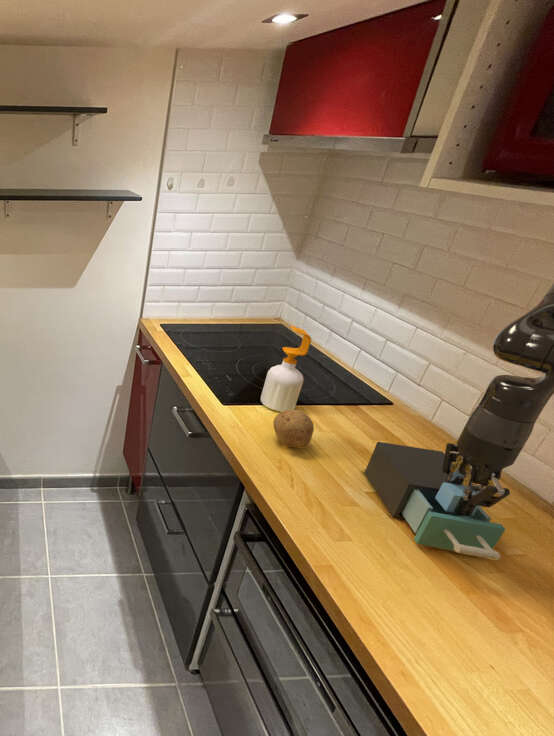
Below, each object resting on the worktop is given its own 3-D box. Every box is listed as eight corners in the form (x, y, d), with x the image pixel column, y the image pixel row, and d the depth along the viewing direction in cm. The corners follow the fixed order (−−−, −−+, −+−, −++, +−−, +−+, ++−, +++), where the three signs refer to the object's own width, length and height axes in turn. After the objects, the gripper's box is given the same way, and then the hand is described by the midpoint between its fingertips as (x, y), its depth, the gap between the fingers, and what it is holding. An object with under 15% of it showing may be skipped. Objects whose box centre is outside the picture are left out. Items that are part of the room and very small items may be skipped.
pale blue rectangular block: (461, 502, 87) (470, 486, 85) (473, 516, 83) (482, 500, 82) (434, 497, 88) (443, 482, 86) (445, 511, 84) (454, 495, 83)
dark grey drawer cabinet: (464, 530, 90) (484, 496, 86) (392, 517, 93) (409, 483, 89) (426, 483, 103) (442, 451, 99) (364, 472, 105) (377, 441, 102)
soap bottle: (256, 394, 137) (276, 320, 127) (288, 398, 135) (311, 323, 125) (264, 410, 129) (287, 333, 119) (298, 414, 127) (324, 336, 117)
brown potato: (274, 429, 121) (284, 397, 117) (311, 443, 115) (323, 411, 111) (263, 444, 115) (273, 411, 111) (302, 460, 109) (314, 426, 105)
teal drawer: (506, 580, 79) (526, 551, 76) (431, 565, 82) (447, 536, 79) (446, 506, 95) (461, 480, 92) (385, 496, 97) (397, 469, 94)
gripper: (446, 407, 85) (412, 477, 92) (496, 454, 73) (453, 530, 80) (493, 414, 84) (455, 484, 91) (553, 462, 71) (503, 540, 78)
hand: (454, 506), depth 85 cm, fingers closed on pale blue rectangular block, 3 cm apart
